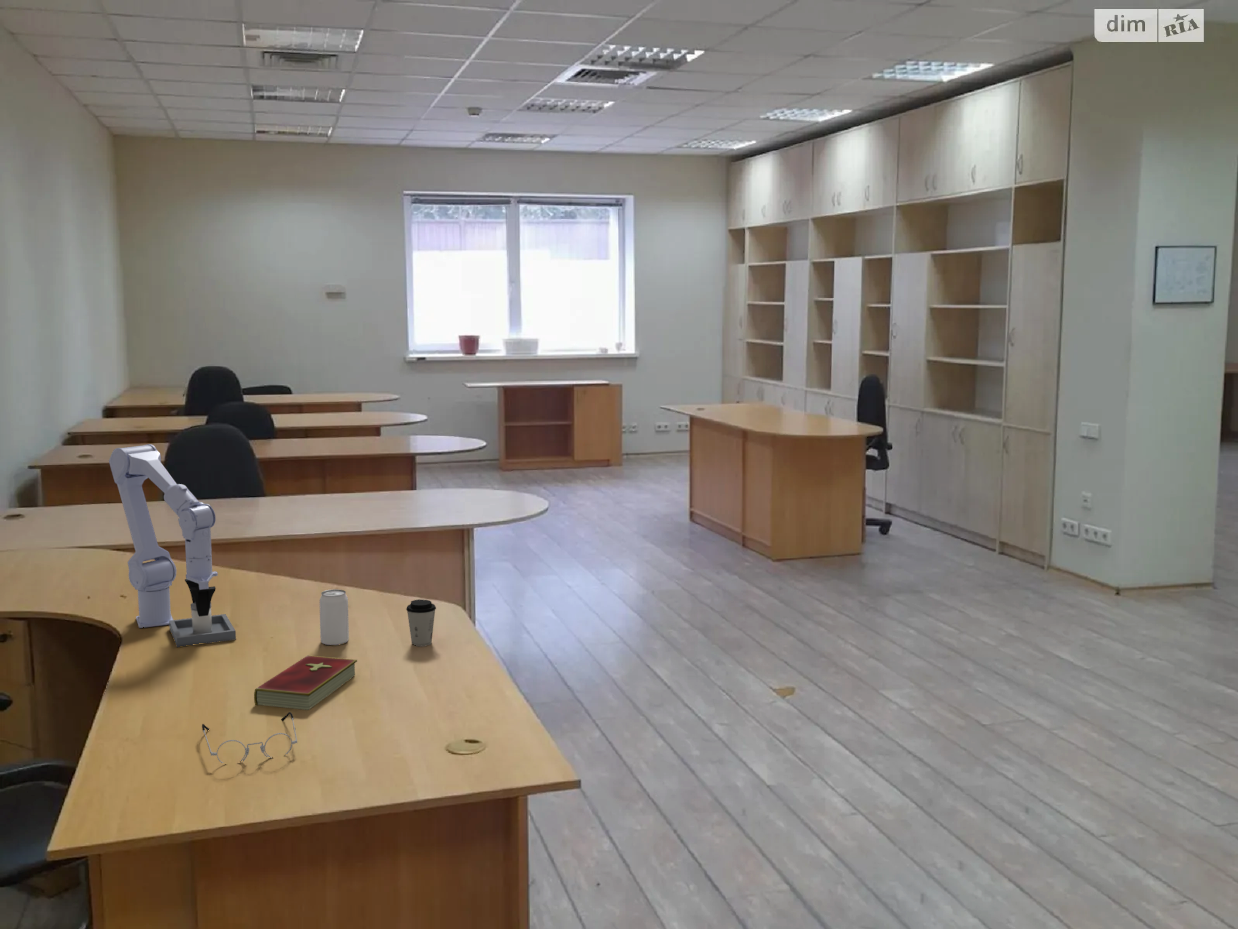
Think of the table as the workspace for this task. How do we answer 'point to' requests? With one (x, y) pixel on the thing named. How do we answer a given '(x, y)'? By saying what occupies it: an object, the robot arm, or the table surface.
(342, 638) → the can
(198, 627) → the shaker
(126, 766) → the table surface
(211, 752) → the eyeglasses
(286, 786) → the table surface
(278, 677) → the hardcover book
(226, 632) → the tray
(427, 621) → the coffee cup
